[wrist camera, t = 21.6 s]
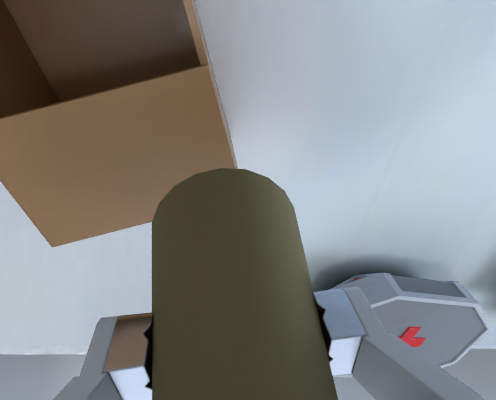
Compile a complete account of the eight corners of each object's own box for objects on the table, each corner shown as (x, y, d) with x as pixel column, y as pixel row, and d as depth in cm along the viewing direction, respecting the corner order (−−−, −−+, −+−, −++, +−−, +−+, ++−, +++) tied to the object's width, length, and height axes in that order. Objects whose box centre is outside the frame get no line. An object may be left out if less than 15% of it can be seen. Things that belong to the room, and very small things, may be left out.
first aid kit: (472, 267, 47) (329, 247, 40) (514, 307, 41) (352, 291, 34) (411, 336, 55) (285, 329, 49) (439, 378, 49) (298, 376, 43)
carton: (-29, -49, 21) (-218, -95, 11) (167, -101, 21) (140, -191, 11) (97, 174, 31) (51, 248, 21) (231, 139, 31) (244, 198, 21)
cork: (165, 290, 14) (100, 820, 5) (136, 174, 11) (-217, 1105, 2) (292, 275, 15) (447, 722, 6) (301, 161, 11) (715, 793, 2)
